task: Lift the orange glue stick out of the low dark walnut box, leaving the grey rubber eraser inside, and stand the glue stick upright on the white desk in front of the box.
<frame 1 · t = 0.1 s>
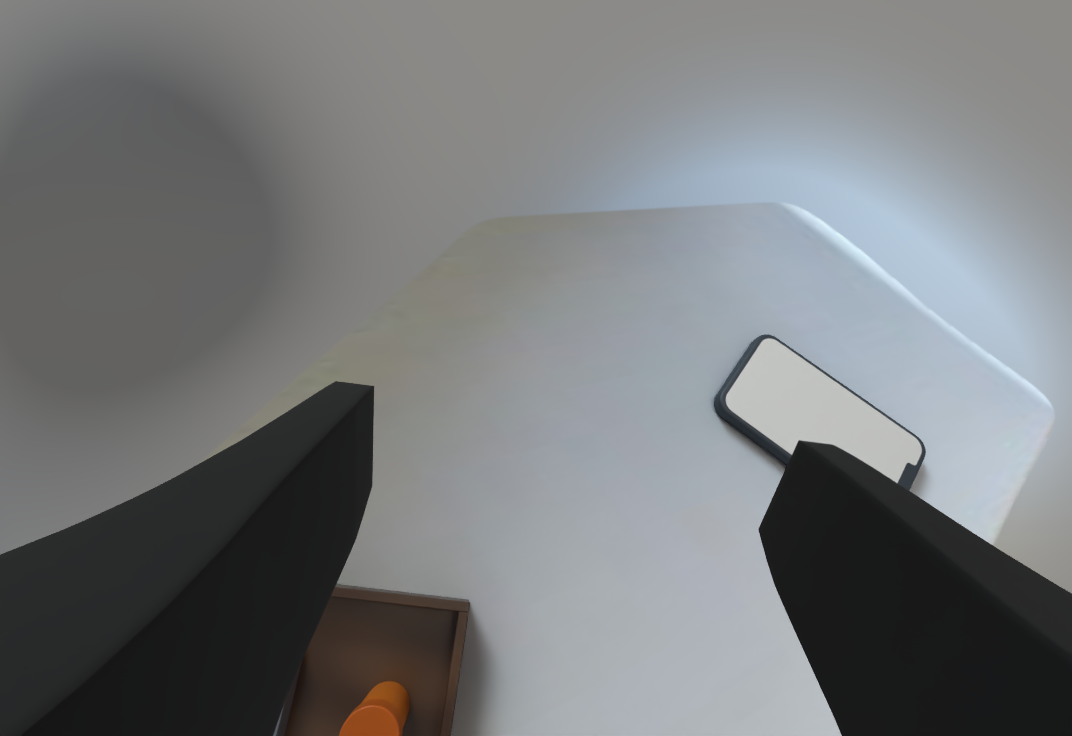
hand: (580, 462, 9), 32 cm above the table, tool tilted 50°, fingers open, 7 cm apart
eraser: (272, 694, 34), resting on box
phone case: (811, 429, 46), on the table
glue stick: (387, 706, 35), resting on box
box: (331, 698, 35), on the table
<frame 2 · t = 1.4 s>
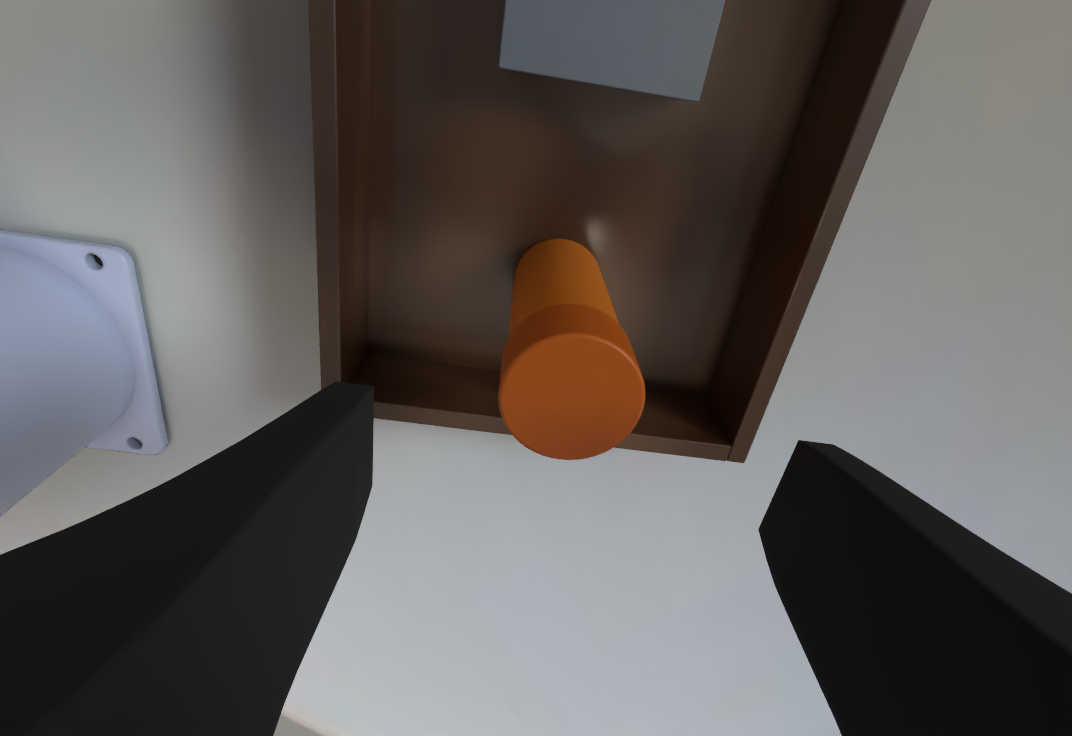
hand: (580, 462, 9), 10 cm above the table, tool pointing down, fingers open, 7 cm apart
eraser: (601, 29, 15), resting on box
glue stick: (557, 281, 18), resting on box
box: (576, 165, 17), on the table
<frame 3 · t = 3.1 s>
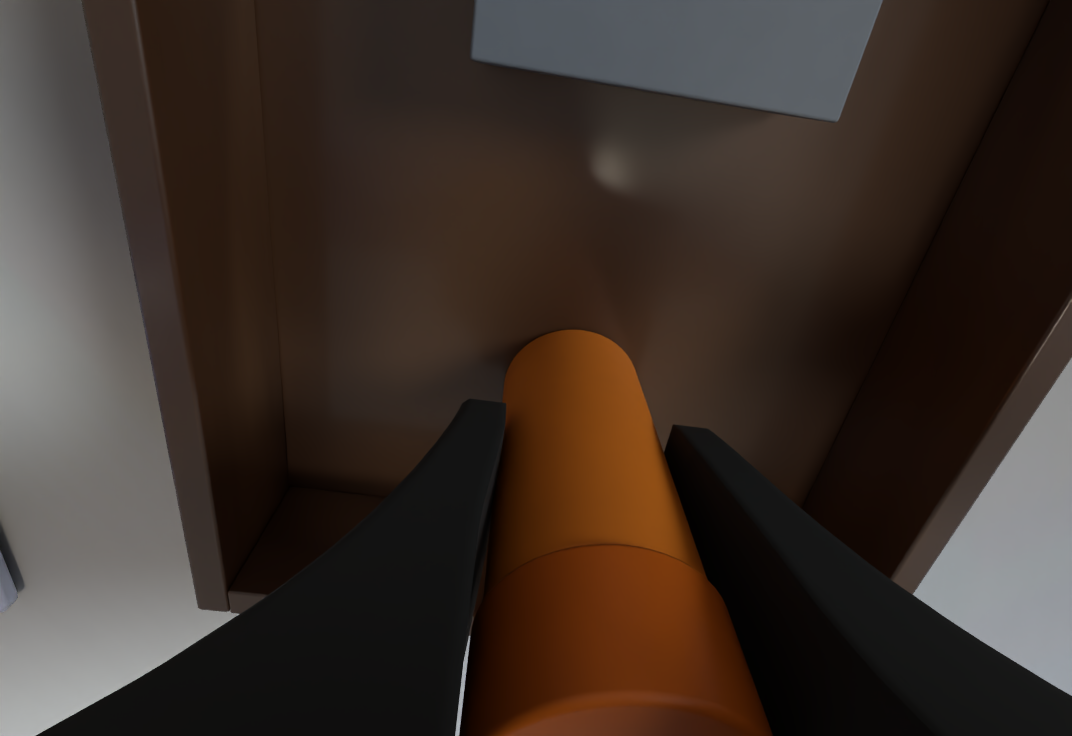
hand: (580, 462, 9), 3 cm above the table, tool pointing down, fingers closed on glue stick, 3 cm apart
glue stick: (570, 388, 12), resting on box, touching gripper
box: (603, 217, 11), on the table
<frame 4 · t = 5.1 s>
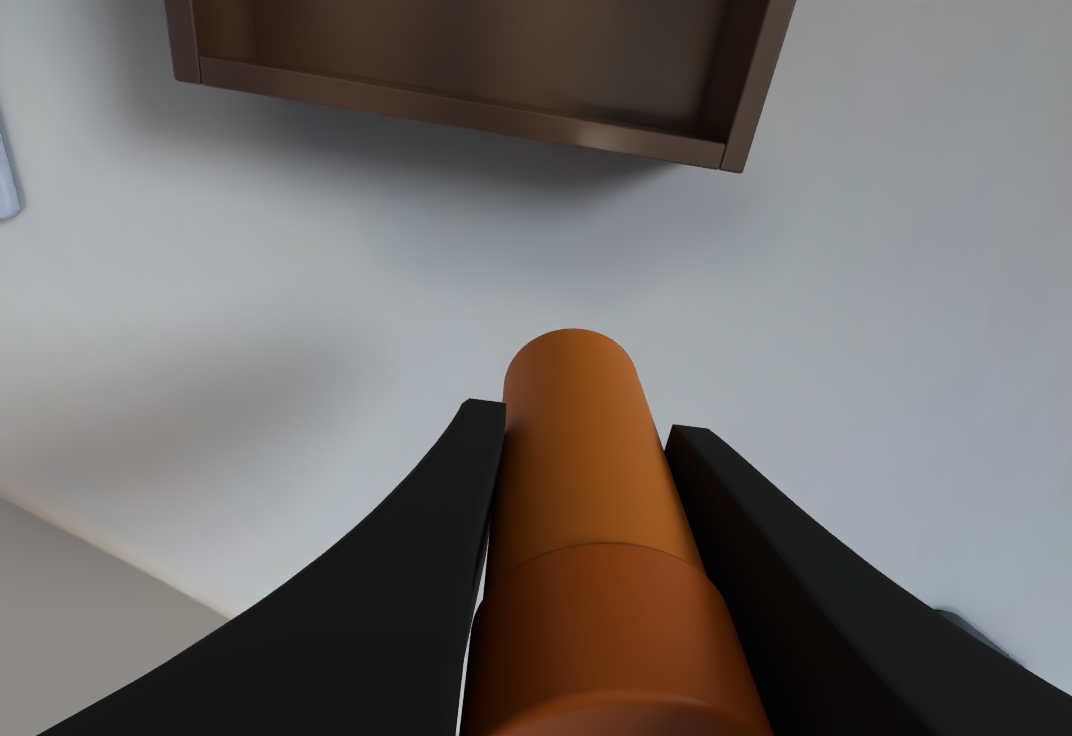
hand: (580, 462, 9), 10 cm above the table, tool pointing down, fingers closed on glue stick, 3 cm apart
phone case: (849, 712, 30), on the table
glue stick: (570, 387, 12), point 7 cm above the table, touching gripper
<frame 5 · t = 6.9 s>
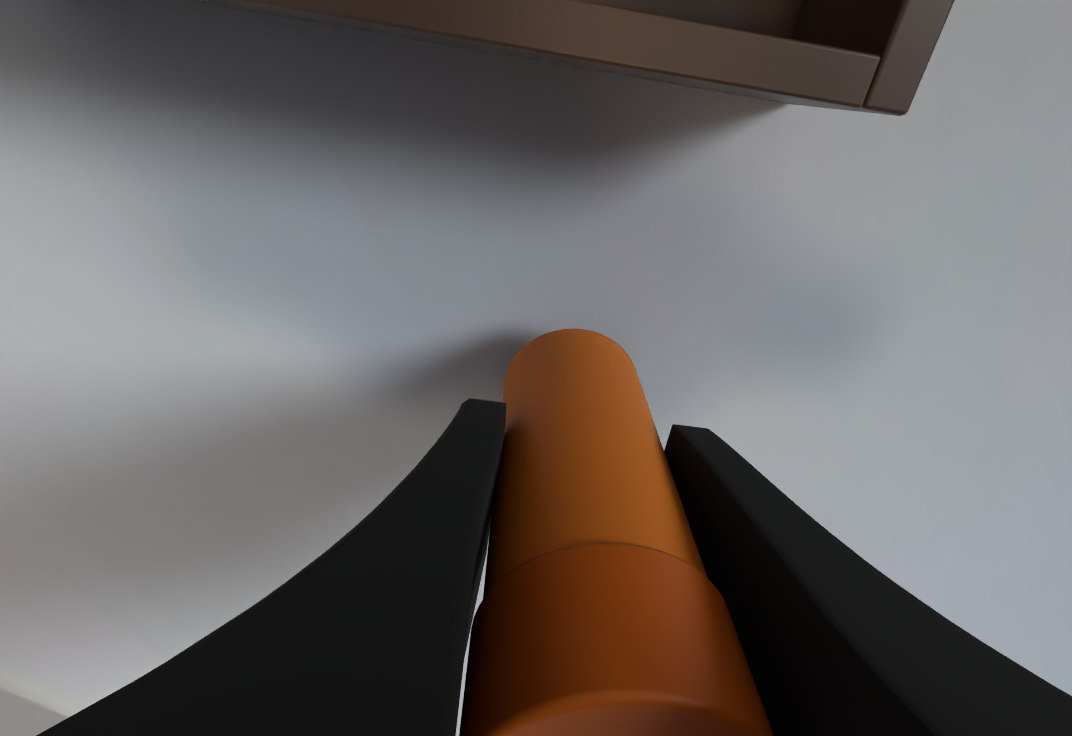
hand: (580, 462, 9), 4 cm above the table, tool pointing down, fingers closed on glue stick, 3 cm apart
glue stick: (570, 388, 12), point 1 cm above the table, touching gripper
when the fingers open (2 cm above the table, at t = 7.6 s): glue stick stays where it is, on the table.
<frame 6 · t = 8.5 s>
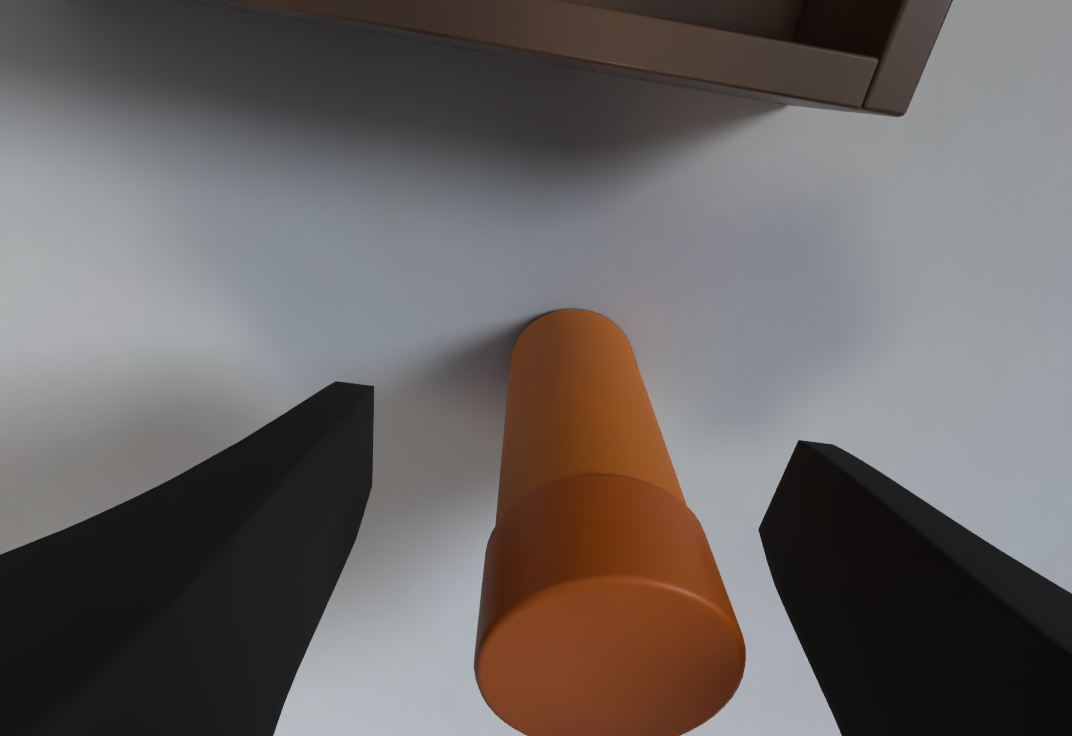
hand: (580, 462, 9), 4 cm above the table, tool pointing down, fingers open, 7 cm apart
glue stick: (571, 364, 13), on the table
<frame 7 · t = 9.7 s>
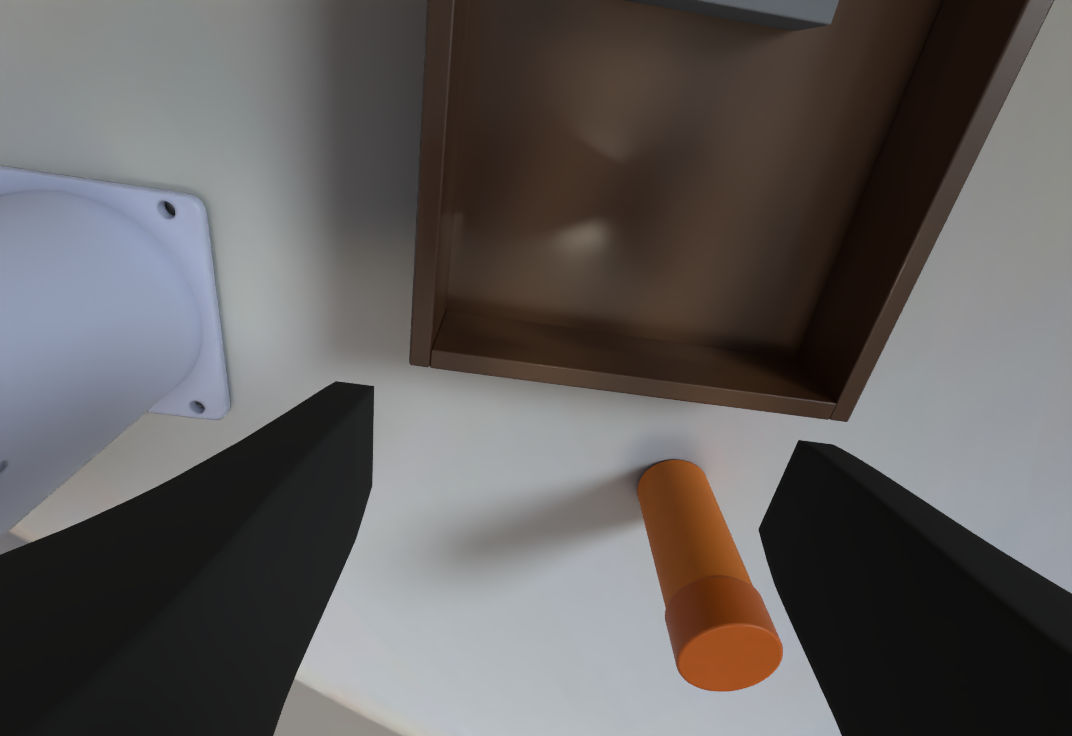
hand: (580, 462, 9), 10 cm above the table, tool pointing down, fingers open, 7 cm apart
glue stick: (671, 486, 22), on the table
box: (676, 106, 16), on the table
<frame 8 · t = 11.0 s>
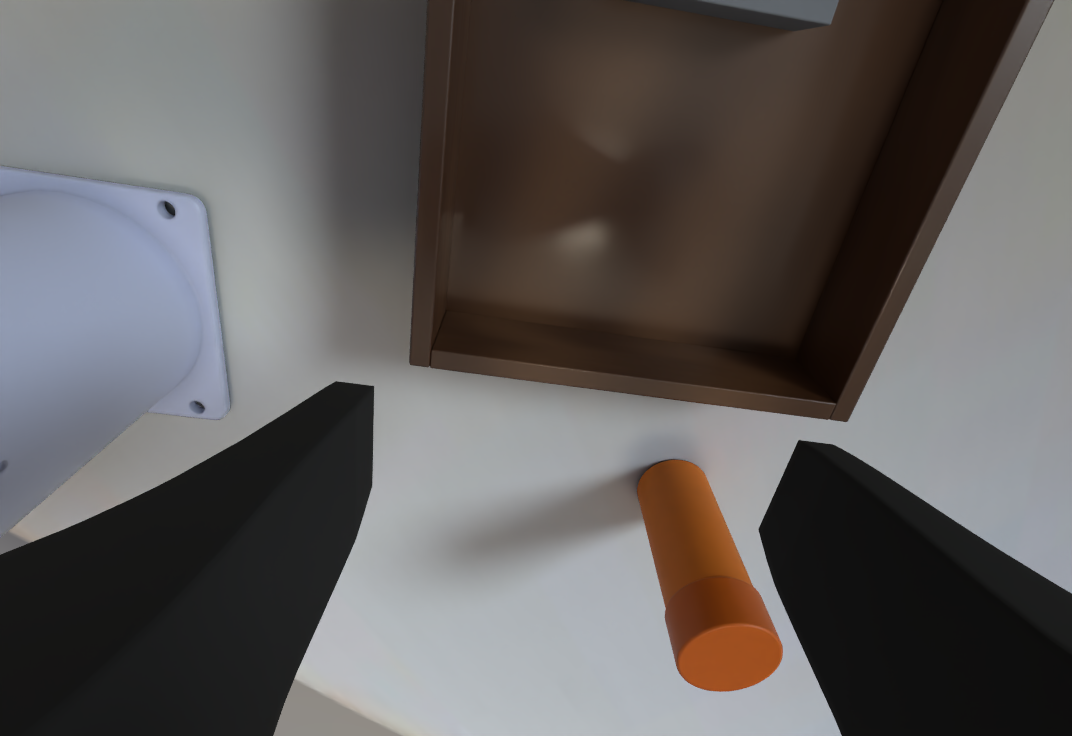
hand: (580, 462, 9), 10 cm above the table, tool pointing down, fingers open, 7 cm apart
glue stick: (671, 486, 22), on the table
box: (676, 106, 16), on the table
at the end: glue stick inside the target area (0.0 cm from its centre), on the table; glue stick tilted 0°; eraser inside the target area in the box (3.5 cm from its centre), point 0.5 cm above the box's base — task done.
